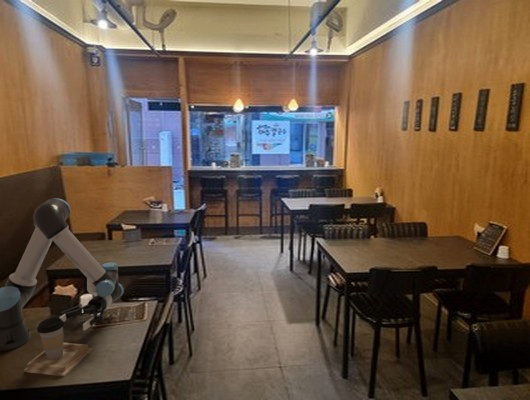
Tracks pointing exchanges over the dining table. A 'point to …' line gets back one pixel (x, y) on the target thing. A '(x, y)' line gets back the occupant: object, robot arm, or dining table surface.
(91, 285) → the champagne flute
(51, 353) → the coffee cup
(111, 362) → the dining table surface
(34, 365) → the wooden tray
